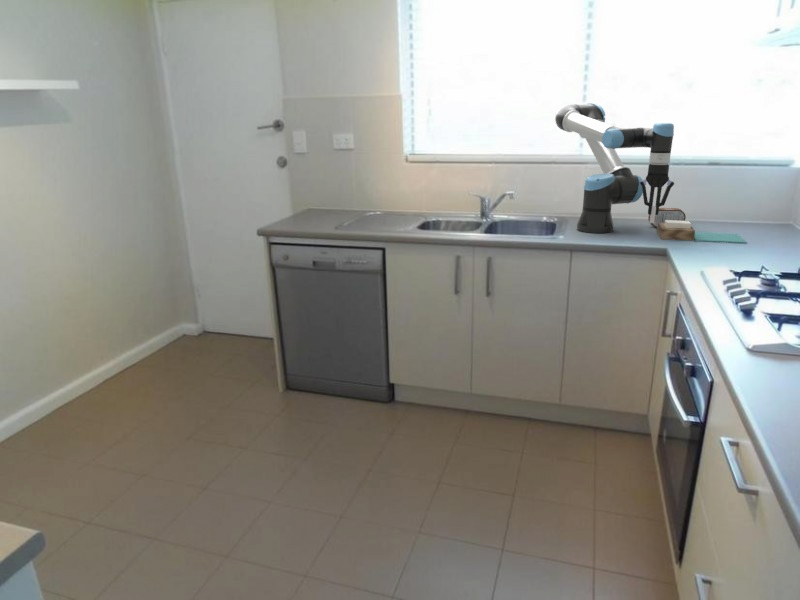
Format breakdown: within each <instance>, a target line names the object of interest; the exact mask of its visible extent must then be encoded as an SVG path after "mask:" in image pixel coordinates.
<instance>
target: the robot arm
mask: <svg viewBox="0 0 800 600" xmlns="http://www.w3.org/2000/svg"><path fill="white" fill-rule="evenodd" d="M605 116H606V112H605V110H604V108H603V107H602V106H601V105H600V104H597V103H591V102H589V103H569V104H564V105H563V106H562V107H560V108H559V109H558V111H557V112H556V114H555V124H556V126H557V127H558V128H559V130H562V131H565V132H567V133H576V134H578V135H579V137H580V138H581V139H585V140H586V142H587V144H588V146H589V148H590V150H591V152H592V154H593V156H594V157H595V159H596V161H597V163H598V165H599V167H600V169H601V172H602V173H596V174H591V175H589V176H587V177H586V179H585V181H584V185H583V186H584V187H583V189H584V190H583V201H582V211H581V214H580V216H579V218H578V220H577V223H576V230H577V231H579V232H585V233H590V234H591V233H594V234H605V233H612V232H613V231H614V227H615V226H614V220H613V217H612V205H618V204H619V205H621V204H631V203H635V202H637V201H639V200H640V199H641V197H643V203H644V205H645V206H648V207H647V208H648V210H647V214H648V216H649V215H650V222H649V224H650V223H654V221H655V215H658V212H659V208H661V207H663V206H665V203H666V201H667V199H668V197H669V193H670V191H671V188H672V187H673V186H674V185H675V182H674V181H672V180H671V179H670V177H669V169H670V165H669V164H670V162H671V155H672V154H671V153H672V146H673V139H674V136H675V135H674V130H675V126H674V123H668V122H667V123H663V122H662V123H660V122H659V123H658V122H657V123H654V124H653V127H652V128H651V127H650V128H649V127H635V128H620V127H616V126H614V125H612V124H610V123H609V124H608V123H605V122H606V117H605ZM631 148H634V149H635V148H650V153H649V159H648V162H649V164H648V167H647V168H648V169H647V175H646V177H645V178H644V179H643V178H642V177H641V176H640V175H637V174H633V172H632V170H631V169H630V167H628V166H625V165H624V164H623V162H622V160H621V158H620V157H619V156H620V155H618V153H617V151H616V149H631ZM647 183H648V185H649V186H650V191H649V199H648V195H647V188H646V186H647ZM665 185H667V186H666V188H665V190H664V193H663V195H662V190H663V187H664V186H665ZM655 189H656V198H655V205H653V204H654V197H655ZM661 195H662V198H661Z"/></svg>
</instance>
